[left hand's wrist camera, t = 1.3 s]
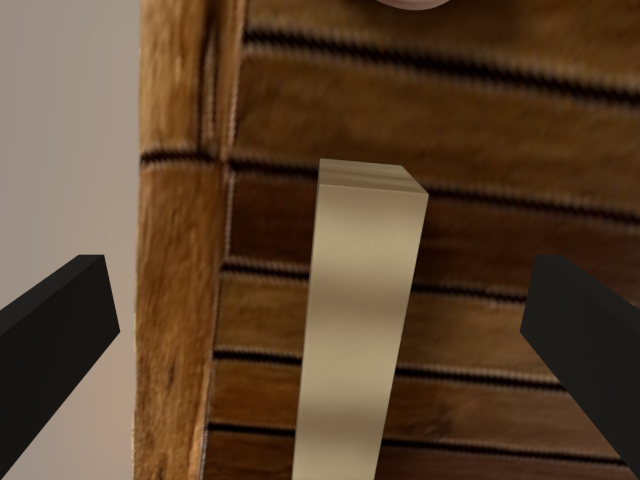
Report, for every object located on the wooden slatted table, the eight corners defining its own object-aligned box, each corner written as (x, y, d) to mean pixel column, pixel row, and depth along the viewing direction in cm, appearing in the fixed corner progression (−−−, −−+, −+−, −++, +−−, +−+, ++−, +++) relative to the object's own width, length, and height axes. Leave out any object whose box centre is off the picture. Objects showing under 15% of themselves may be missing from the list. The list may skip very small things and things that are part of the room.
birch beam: (320, 158, 29) (319, 183, 22) (402, 165, 29) (429, 193, 22) (290, 489, 41) (283, 578, 34) (348, 493, 42) (354, 582, 34)
